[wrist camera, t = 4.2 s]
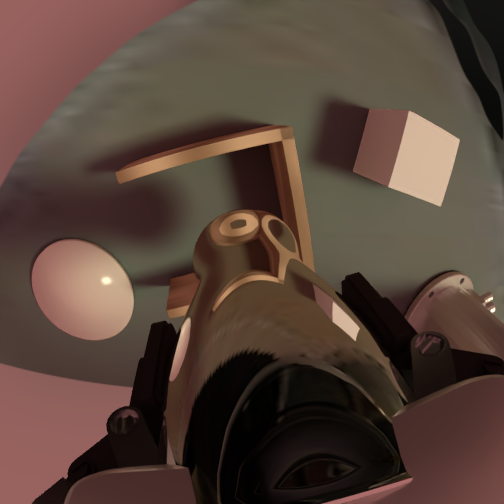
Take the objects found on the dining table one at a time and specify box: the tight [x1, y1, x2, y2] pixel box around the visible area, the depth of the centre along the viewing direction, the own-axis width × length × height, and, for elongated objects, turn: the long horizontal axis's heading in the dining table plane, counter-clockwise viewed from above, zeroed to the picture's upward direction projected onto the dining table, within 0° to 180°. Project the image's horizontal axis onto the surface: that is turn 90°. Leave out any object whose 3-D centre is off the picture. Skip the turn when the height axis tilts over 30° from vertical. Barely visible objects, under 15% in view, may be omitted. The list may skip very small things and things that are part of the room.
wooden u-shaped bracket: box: [115, 125, 315, 319], centre depth 23 cm, size 12×12×5 cm
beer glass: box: [158, 208, 417, 504], centre depth 11 cm, size 7×7×15 cm
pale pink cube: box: [352, 109, 460, 207], centre depth 22 cm, size 6×6×6 cm
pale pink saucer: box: [32, 238, 134, 340], centre depth 26 cm, size 11×11×1 cm
